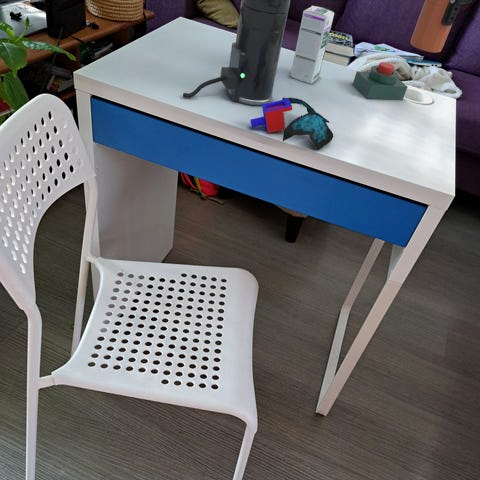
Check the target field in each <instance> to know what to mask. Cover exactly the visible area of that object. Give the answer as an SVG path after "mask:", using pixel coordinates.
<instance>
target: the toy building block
mask: <svg viewBox="0 0 480 480" xmlns="http://www.w3.org/2000/svg"><path fill="white" fill-rule="evenodd" d="M282 99H283V98H282ZM282 99H280V100H275V101H272V102H271V101H270V102H269V103H267V104H262V105H261V108H262V115H263V116H260V117H255V118H252V119H250V126H251V128H252V129H254V128H257V127H262V126H265V129H266V132H267V134H270V133H275V132H279V131H284V129H285V128H286V122H285V113H286V112H291V111H293V104H291V103H290V101H289V99H283V100H282Z"/></svg>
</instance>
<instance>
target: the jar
mask: <svg viewBox="0 0 480 480" xmlns="http://www.w3.org/2000/svg"><path fill="white" fill-rule="evenodd" d="M448 3H451V2H450V0H424V3H423V5H422V8H421V11H420V14H419V16H418V19H417V21H416V25H415V27H414V30H413V32H412V35H411V38H410V43H409V44H410V45H411V46H412V47H414V48H416V49H418V50H421V51H424V52H428V53H435V54H436V53H440V52H442V49H443V48H444V46H445V43H446V41H447V38H448V36H449V33H450V32H451V28H452V27H453V24H454V22H453V23H452V25H451V26H445V25H443V24H441V21H442V18H443V16H444V13H445V11H446V8H447V6H448Z"/></svg>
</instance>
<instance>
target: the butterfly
mask: <svg viewBox="0 0 480 480" xmlns="http://www.w3.org/2000/svg"><path fill="white" fill-rule="evenodd" d="M283 99H289V101H290V103H291V105H295V104H296V105H300V107H304V108H306V112H307V113H305V114H301V115H300V116H299V117H297V118H295V119H293V120H292V121H291V122H290V123H289V124H288V125H287V126H285V129H284V130H283V133H282V134H283V135H282V142H285V141H287V140H288V139H290V138H292V137H295V136H309V139H310V141H311V144H312V145H313V147H314V148H315V149H316V150H317V151H319V150H320V149H322V148H324V147H325V146H327V145H328V144H329V143H331V142H332V140H333V139H334V133H333V131H332V130H331V129H330V127H329V126H328V124H330V121H329V120H328V119H327V118H325V117H324V116H323V115H322V114H320V113H319V112H317V111H316V110H315V109H314V108H313V107H312V106H311V105H310V104H309V103H308V102H306V101H304V100H303V99H300V98H297V97H282V99H281V100H283ZM327 123H328V124H327Z"/></svg>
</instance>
